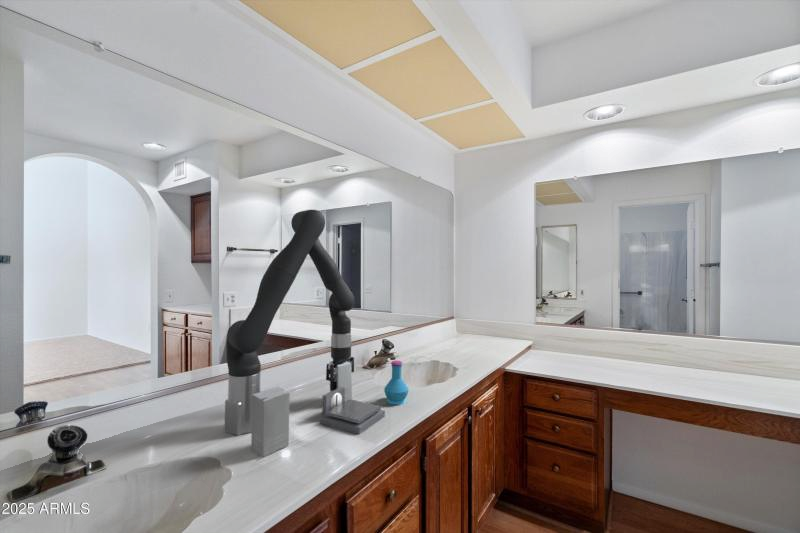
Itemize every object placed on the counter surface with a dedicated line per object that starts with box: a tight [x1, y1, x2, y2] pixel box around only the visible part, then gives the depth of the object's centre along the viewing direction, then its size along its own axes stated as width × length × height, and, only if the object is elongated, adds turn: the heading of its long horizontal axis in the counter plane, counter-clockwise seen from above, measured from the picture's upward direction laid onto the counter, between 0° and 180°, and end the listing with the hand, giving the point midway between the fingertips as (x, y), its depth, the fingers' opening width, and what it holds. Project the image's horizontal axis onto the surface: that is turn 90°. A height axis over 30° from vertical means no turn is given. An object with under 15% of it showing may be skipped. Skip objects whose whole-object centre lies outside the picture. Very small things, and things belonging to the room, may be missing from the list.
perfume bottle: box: [383, 360, 409, 406], centre depth 138 cm, size 9×9×15 cm
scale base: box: [320, 387, 386, 435], centre depth 120 cm, size 15×17×8 cm
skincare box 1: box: [250, 386, 291, 458], centre depth 100 cm, size 8×7×16 cm
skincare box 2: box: [328, 360, 353, 401], centre depth 136 cm, size 8×6×15 cm
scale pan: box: [326, 399, 382, 423], centre depth 120 cm, size 13×13×2 cm
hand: (340, 387), depth 136 cm, fingers closed on skincare box 2, 8 cm apart
